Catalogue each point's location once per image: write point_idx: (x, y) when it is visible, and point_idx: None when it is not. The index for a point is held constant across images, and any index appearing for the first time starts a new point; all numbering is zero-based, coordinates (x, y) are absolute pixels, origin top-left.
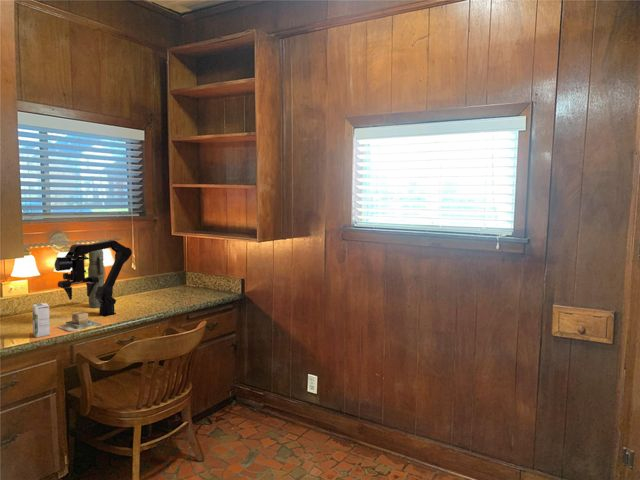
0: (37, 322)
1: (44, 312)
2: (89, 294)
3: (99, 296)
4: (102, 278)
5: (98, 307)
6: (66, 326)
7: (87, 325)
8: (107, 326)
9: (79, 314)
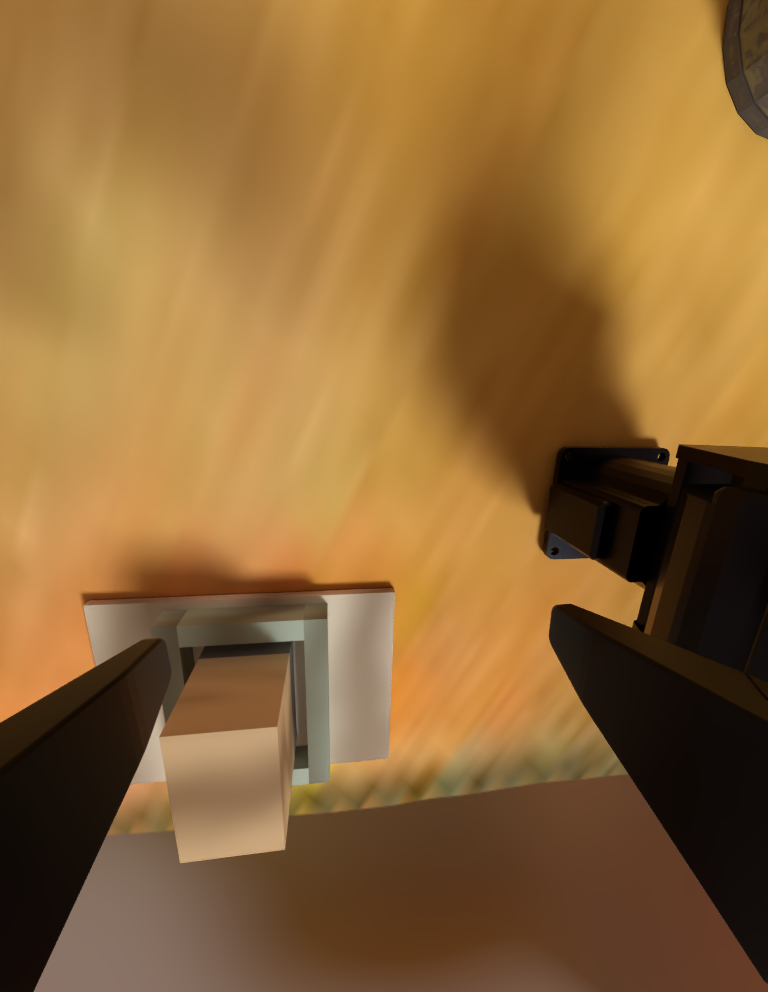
0: None
1: None
2: (588, 687)
3: (700, 648)
4: None
5: (762, 129)
6: None
7: None
8: (386, 803)
9: (201, 835)
